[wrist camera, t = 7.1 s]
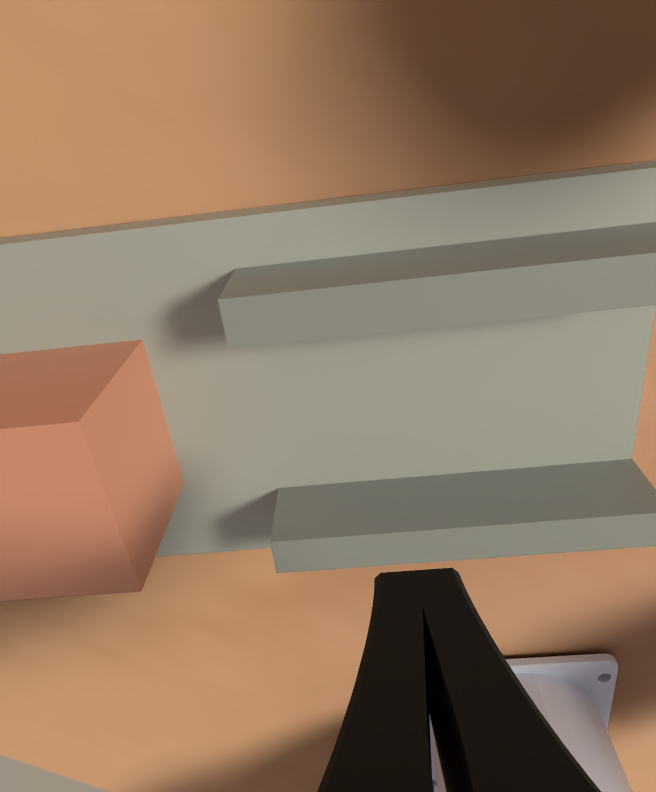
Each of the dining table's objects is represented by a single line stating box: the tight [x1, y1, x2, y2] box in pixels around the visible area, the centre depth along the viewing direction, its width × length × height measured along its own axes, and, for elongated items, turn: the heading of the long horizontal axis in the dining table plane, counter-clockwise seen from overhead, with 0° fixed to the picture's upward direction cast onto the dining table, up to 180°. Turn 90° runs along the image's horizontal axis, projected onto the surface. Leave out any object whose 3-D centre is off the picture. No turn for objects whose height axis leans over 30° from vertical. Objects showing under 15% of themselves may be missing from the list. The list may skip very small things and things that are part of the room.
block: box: [0, 340, 184, 601], centre depth 16 cm, size 5×6×4 cm
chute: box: [0, 160, 656, 573], centre depth 17 cm, size 11×22×4 cm, turn 97°
